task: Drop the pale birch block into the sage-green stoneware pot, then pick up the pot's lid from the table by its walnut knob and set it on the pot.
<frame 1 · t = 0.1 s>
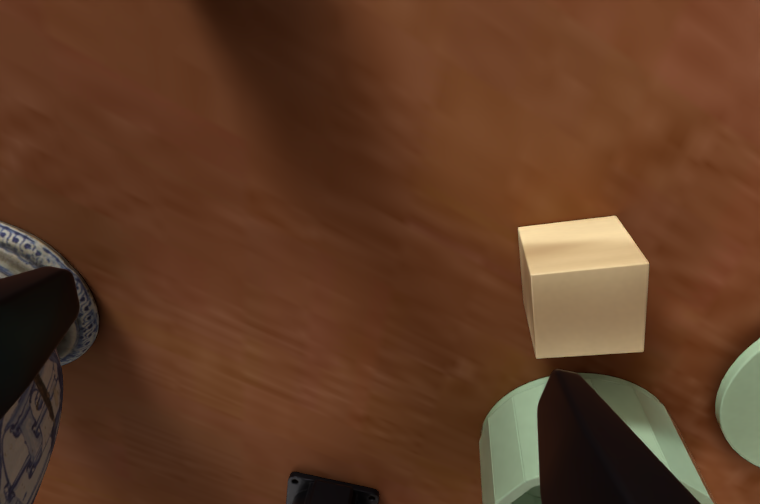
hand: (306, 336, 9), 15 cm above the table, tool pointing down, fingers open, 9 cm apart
decorative vase: (21, 295, 30), on the table
block: (566, 261, 24), on the table
pot: (573, 442, 29), on the table
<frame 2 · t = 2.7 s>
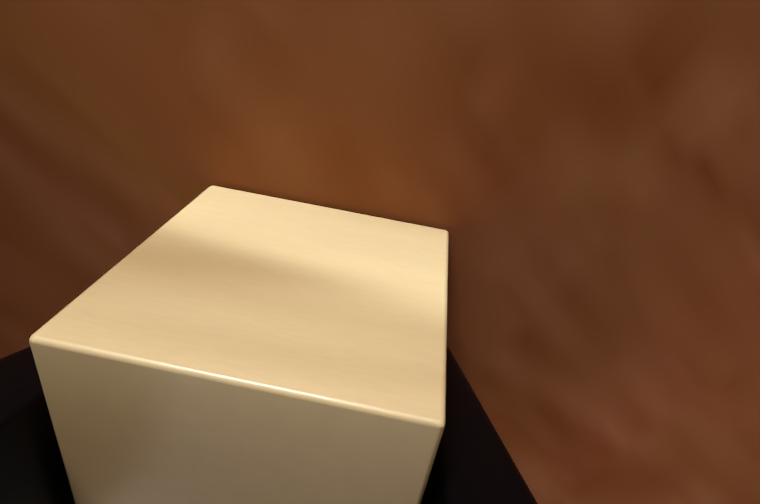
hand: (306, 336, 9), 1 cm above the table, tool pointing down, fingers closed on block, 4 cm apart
block: (318, 304, 10), on the table, touching gripper
when the fingers open (4 cm above the table, at t = 7.8 s): block stays where it is, resting on pot.
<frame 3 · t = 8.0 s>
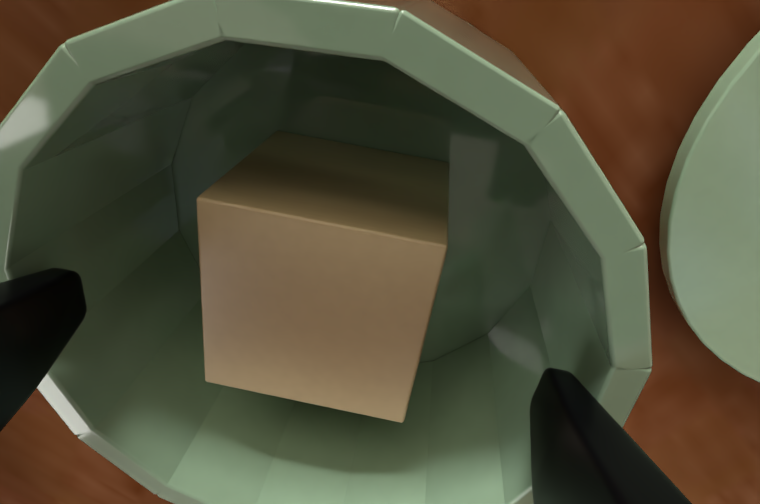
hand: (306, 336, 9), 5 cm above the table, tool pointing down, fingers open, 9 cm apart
block: (352, 224, 13), point 1 cm above the table, touching pot
pot: (356, 216, 13), on the table
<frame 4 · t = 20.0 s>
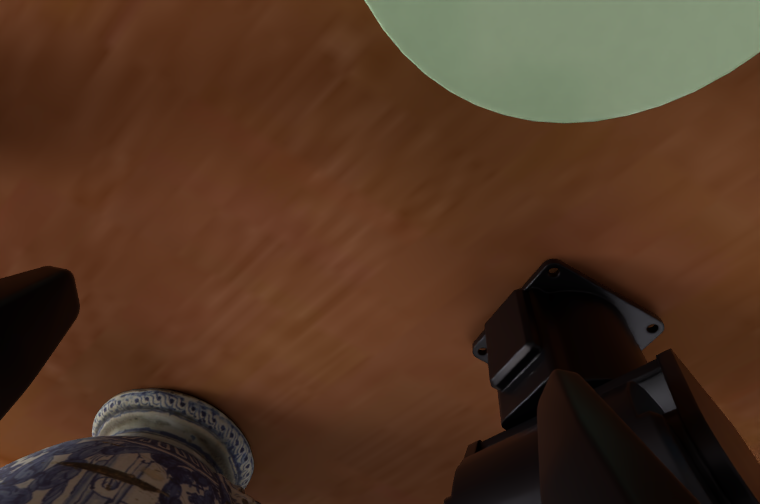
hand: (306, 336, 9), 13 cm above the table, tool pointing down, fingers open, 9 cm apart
decorative vase: (181, 443, 32), on the table
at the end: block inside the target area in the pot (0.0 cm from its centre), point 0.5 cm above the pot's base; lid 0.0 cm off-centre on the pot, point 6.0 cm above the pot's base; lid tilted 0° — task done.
